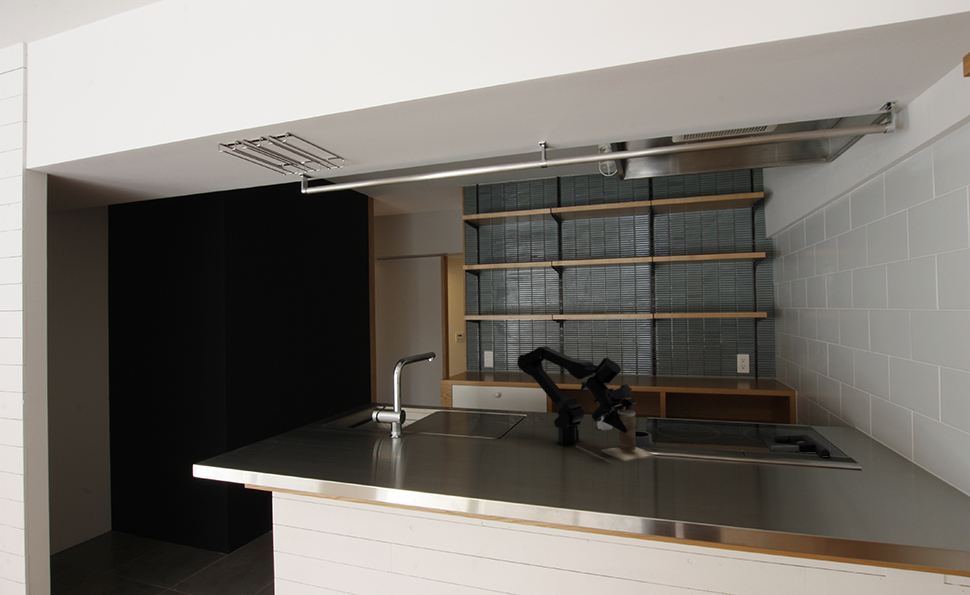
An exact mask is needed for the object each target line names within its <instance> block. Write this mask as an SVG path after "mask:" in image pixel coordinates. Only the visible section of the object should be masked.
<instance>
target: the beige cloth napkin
mask: <svg viewBox="0 0 970 595" xmlns="http://www.w3.org/2000/svg"><path fill="white" fill-rule="evenodd" d="M600 451H601V453H604V454H606V455H608V456H611V457H613V458H615V459H617V460H621V461H622V462H629V461H635V460H639V459H640V460H642V459H647V458H654V457H656V454H655V453H653V452H649V451H648V450H645V449H642V448H641V447H636V449H635V450H632V451H626V450H621V449H620V448H619V446H618V447H616V446H615V447H610V448H605V449H604V448H603V449H601V450H600Z"/></svg>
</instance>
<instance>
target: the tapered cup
mask: <svg viewBox="0 0 970 595" xmlns="http://www.w3.org/2000/svg"><path fill="white" fill-rule="evenodd" d="M618 415H619V418H620V419H621V421H622V423H623V424H624V426H625V427H626V429H627V432H626V433H624V432H622V431H620V430H618V437H619V439H618V441H619V446H618V447H619V448H620V449H621V450H626V451H632V450H635V449H636V446H635V431H636V429H635V425H636V411H635V410H632V409H631V410H619V414H618Z"/></svg>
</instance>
